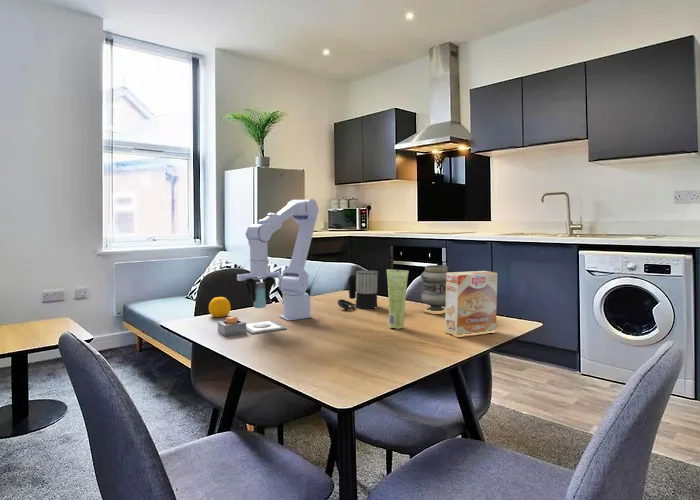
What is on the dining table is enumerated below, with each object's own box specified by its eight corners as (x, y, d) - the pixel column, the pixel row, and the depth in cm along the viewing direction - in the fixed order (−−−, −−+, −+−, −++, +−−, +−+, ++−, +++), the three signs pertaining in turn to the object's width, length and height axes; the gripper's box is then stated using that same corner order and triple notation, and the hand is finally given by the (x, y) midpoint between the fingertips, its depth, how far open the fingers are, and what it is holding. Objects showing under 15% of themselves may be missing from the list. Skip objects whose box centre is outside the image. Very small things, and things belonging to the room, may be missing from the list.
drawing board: (270, 321, 161) (270, 319, 161) (286, 329, 150) (286, 327, 150) (237, 326, 154) (237, 324, 154) (251, 334, 143) (251, 332, 143)
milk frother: (381, 306, 189) (381, 270, 188) (366, 313, 175) (367, 275, 174) (350, 303, 195) (350, 269, 194) (333, 310, 181) (333, 273, 180)
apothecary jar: (413, 311, 177) (414, 265, 176) (432, 307, 186) (433, 263, 184) (439, 316, 169) (440, 268, 167) (458, 312, 177) (458, 266, 175)
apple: (233, 317, 168) (233, 297, 168) (212, 319, 164) (212, 299, 163) (226, 313, 175) (226, 294, 174) (206, 315, 171) (205, 296, 170)
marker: (263, 305, 155) (262, 281, 154) (267, 307, 151) (267, 283, 151) (251, 306, 152) (251, 282, 152) (256, 308, 149) (255, 284, 149)
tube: (401, 325, 155) (401, 268, 153) (408, 329, 150) (408, 270, 149) (386, 326, 153) (386, 269, 152) (392, 330, 148) (393, 270, 147)
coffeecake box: (457, 338, 139) (458, 274, 137) (444, 332, 145) (445, 272, 144) (497, 333, 144) (498, 272, 143) (482, 328, 151) (483, 270, 149)
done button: (235, 323, 148) (235, 316, 148) (239, 325, 145) (239, 318, 145) (224, 324, 146) (224, 317, 146) (228, 327, 143) (228, 319, 143)
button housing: (239, 328, 150) (238, 318, 150) (246, 333, 144) (246, 322, 144) (217, 331, 147) (217, 321, 146) (224, 336, 141) (224, 325, 140)
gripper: (274, 258, 158) (275, 296, 159) (233, 260, 150) (234, 301, 151) (282, 259, 152) (283, 300, 153) (240, 262, 144) (241, 304, 145)
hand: (259, 300), depth 152 cm, fingers closed on marker, 4 cm apart
